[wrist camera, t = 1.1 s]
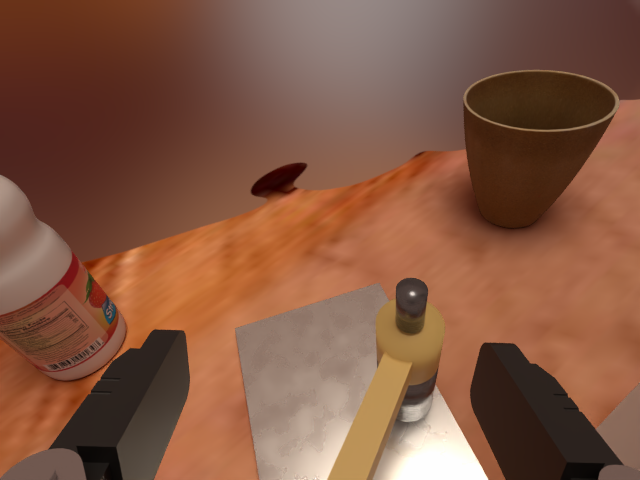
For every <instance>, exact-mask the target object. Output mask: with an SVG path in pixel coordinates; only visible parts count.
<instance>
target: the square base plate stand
mask: <svg viewBox="0 0 640 480" xmlns="http://www.w3.org/2000/svg"><path fill="white" fill-rule="evenodd" d="M427 296H428V288H427V286H426V284H425V283H424V282H422V281H421V280H419V279H416V278H406V279H403V280H401V281H400V282H399V283H398V284H397V286H396V315H395V322H396V325H397V327H398V328H399V329H400V330H401V331H403V332H405V333H410V334H413V333H417V332H419V331H420V330H422V328H423V327H424V323H425V314H426V305H427ZM387 302H389V300H388V298H387V296H386V294H385V292H384V291H383V289H382V287H381V285H380V283H377V284H374V285H370V286H367V287H364V288H361V289H358V290H355V291H351V292H348V293H345V294H342V295H339V296H336V297H333V298H329V299H326V300H323V301H320V302H317V303H314V304H310V305H307V306H304V307H301V308H298V309H295V310H291V311H288V312H285V313H282V314H279V315H276V316H273V317H269V318H266V319H263V320H260V321H257V322H254V323H250V324H247V325H244V326H241V327H238V328H235V331H236V337H237V343H238V350H239V356H240V362H241V368H242V374H243V381H244V387H245V393H246V399H247V405H248V412H249V418H250V424H251V430H252V436H253V443H254V449H255V455H256V461H257V467H258V474H259V480H327V478H328V476H329V474H330V472H331V469H332V467H333V465H334V463H335V461H336V458H337V456H338V454H339V452H340V450H341V447H342V445H343V443H344V441H345V438H346V436H347V434H348V432H349V430H350V427H351V425H352V423H353V421H354V419H355V416H356V414H357V412H358V410H359V408H360V405H361V403H362V401H363V399H364V396H365V394H366V392H367V390H368V388H369V385H370V383H371V381H372V379H373V377H374V374H375V372H376V370H377V368H378V366H379V364H378V361H377V350H376V324H375V323H376V316H377V314H378V312H379V310H380V309H381V308H382V306H383V305H385V304H386V303H387ZM438 367H439V366H438ZM437 372H438V369H437V371H436V373H435V374H434V375H433V377H432V378H430V379H429V380H428V381H426V382H424V383H421V384H418V385H409V386H408V389H407V391H406V394H405V396H404V399H403V402H402V404H401V407H400V409H399V412H398V415H397V417H396V420H395V422H394V425H393V428H392V430H391V433H390V436H389V438H388V441H387V443H386V446H385V449H384V451H383V454H382V456H381V459H380V462H379V464H378V467H377V469H376V472H375V475H374V477H373V480H488V478H487V477H486V475H485V473H484V471H483V469H482V468H481V466H480V464H479V462H478V460H477V458H476V457H475V455H474V453H473V451H472V449H471V448H470V446H469V444H468V442H467V440H466V439H465V437H464V435H463V433H462V431H461V430H460V428H459V426H458V424H457V422H456V421H455V419H454V417H453V415H452V413H451V412H450V410H449V408H448V406H447V404H446V403H445V401H444V399H443V397H442V395H441V394H440V392H439V390H438V388H437V386H436V378H437Z"/></svg>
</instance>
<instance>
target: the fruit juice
mask: <svg viewBox="0 0 640 480" xmlns="http://www.w3.org/2000/svg"><path fill="white" fill-rule="evenodd" d="M125 334H126V324H125V320H124V318H123V316H122V314H121V313H120V311H119V310H118V309H117V308H116V306H115V305H114V304H113V302H112V301H111V300H110V299H109V297H108V296H107V295H106V294H105V292H104V291H103V290H102V289H101V287H100V286H99V285H98V283H97V282H96V281H95V280H94V278H93V277H92V276H91V275H90V273H89V272H88V271H87V270H86V268H85V267H84V266H83V265H82V263H81V262H80V261H79V260H78V258H77V257H76V256H75V255H74V253H73V252H72V250H71V249H70V248H69V246H68V245H67V244H66V243H65V241H64V240H63V239H62V238H61V237H60V236H59V235H58V234H57V233H56V232H55V231H54V230H53V229H52V228H51V227H49V226H48V225H47V224H45V223H43V222H41V221H39V220H38V219H36V217H35V215H34V213H33V210H32V207H31V205H30V203H29V201H28V199H27V197H26V195H25V194H24V193H23V192H22V191H21V190H20V188H19V187H18V186H17V185H16V184H14V183H13V182H12V181H11V180H9V179H7V178H6V177H4V176H1V175H0V339H2V340H3V341H4V342H5V343H7V344H8V345H9V346H10V347H12V348H13V349H14V350H15V351H16V352H18V353H19V354H20V355H21V356H23V357H24V358H25V359H26V360H28V361H29V362H30V363H31V364H33V365H34V366H35V367H36V368H38V369H39V370H40V371H41V372H43V373H44V374H45V375H47V376H49V377H51V378H54V379H57V380H75V379H79V378H82V377H85V376H87V375H89V374H91V373H93V372H95V371H96V370H98V369H100V368H101V367H102V366H104V365H105V364H106V363H107V362H108V361H109V360H110V359H111V358H112V357H113V356H114V355H115V354H116V353H117V351H118V350H119V348H120V347H121V345H122V343H123V341H124V338H125Z"/></svg>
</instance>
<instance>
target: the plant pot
mask: <svg viewBox="0 0 640 480" xmlns="http://www.w3.org/2000/svg"><path fill="white" fill-rule="evenodd" d="M463 101H464V129H465V142H466V152H467V159H468V166H469V172H470V177H471V181H472V186H473V190H474V193H475V197H476V200H477V204H478V207H479V210H480V212H481V214H482V216H483V217H484V218H485V219H487V220H488V221H489V222H491V223H493V224H496V225H498V226H502V227H507V228H520V227H525V226H528V225H531V224H532V223H534V222H535V221H536V220H537V219H538V218H539V217H540V216H541V215H542V214H543V213H544V212H545V211H546V210H547V209H548V208H549V207H550V206H551V205H552V204H553V203H554V202H555V201H556V199H557V198H558V197H559V196H560V195H561V194H562V192H563V191H564V190H565V189H566V187H567V186H568V185H569V184H570V182H571V181H572V180H573V178H574V177H575V176H576V174H577V173H578V172H579V170H580V169H581V167H582V166H583V165H584V163H585V162H586V160H587V159H588V157H589V156H590V154H591V153H592V151H593V150H594V149H595V147H596V145H597V144H598V142H599V141H600V139H601V137H602V136H603V134H604V132H605V131H606V129H607V127H608V126H609V124H610V122H611V120H612V118H613V117H614V115H615V113H616V111H617V110H618V108H619V102H620V101H619V98H618V96H617V94H616V93H615V92H614V91H613V90H612V89H611V88H610V87H608V86H607V85H605V84H603V83H601V82H599V81H597V80H594V79H592V78H589V77H585V76H582V75H578V74H573V73H567V72H560V71H550V70H523V71H513V72H506V73H501V74H497V75H493V76H490V77H487V78H484V79H482V80H479V81H478V82H476V83H474V84H473V85H471V86H470V87H469V88H468V89H467V90H466V92H465V94H464V98H463Z"/></svg>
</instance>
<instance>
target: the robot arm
mask: <svg viewBox="0 0 640 480" xmlns="http://www.w3.org/2000/svg"><path fill="white" fill-rule="evenodd" d="M189 384H190V374H189V364H188V353H187V343H186V335H185V332H184V331H182V330H153V331H152V332H151V333H150V335H149V336H148V338H147V339H146V341H145V342H144V344H143V345H142V347H141V348H140V349H134V348H130V349H129V350H127V351H126V352H125V353H123V354H122V355H121V356H119V357H118V358H117V359H115V360H114V361H112V363H111V364H110V366H109V367H108V368H107V370H106V371H105V372H104V374H103V375H102V377H101V380H100V381H98V382H97V383H96V385H95V386H94V388H93V389H92V390H91V394H88V396H87V397H86V398H85V400H84V401H83V403H82V404H81V405H80V407H79V408H78V409H77V411H76V412H75V414H74V415H73V416H72V418H71V419H70V420H69V422H68V423H67V425H66V426H65V427H64V429H63V430H62V431H61V433H60V434H59V436H58V437H57V438H56V440H55V441H54V442H53V444H52V445H51V447H50V448H49V449H48V450H45V451H42V452H39V453H36V454H34V455H32V456H29V457H27V458H25V459H24V460H22V461H20V462H19V463H17V464H16V465H15V466H13V467H12V468H11V469H9V470H8V471H7V472H6V473H5V474H4V475H3V476H2V477H1V478H0V480H154V478H155V475H156V473H157V470H158V468H159V465H160V463H161V461H162V458H163V456H164V453H165V451H166V448H167V446H168V444H169V441H170V439H171V436H172V434H173V431H174V429H175V426H176V424H177V422H178V419H179V417H180V414H181V412H182V409H183V407H184V404H185V402H186V399H187V396H188V391H189ZM470 398H471V404H472V408H473V411H474V413H475V415H476V417H477V420H478V422H479V424H480V426H481V428H482V430H483V432H484V434H485V437H486V439H487V441H488V443H489V445H490V447H491V449H492V451H493V454H494V456H495V458H496V460H497V462H498V464H499V466H500V468H501V470H502V473H503V475H504V477H505V479H506V480H640V471H639V470H637V469H635V468H631V467H628V466H624V464H623V463H622V462H621V461H620V459H619V458H618V457H617V456H616V454H615V453H614V452H613V451H612V449H611V448H610V447H609V446H608V444H607V443H606V442H605V441H604V439H603V438H602V437H601V436H600V434H599V433H598V432H597V431H596V429H595V428H594V427H593V426H592V424H591V423H590V422H589V421H588V419H587V418H586V417H585V416H584V414H583V413H582V412H579V408H578V407H577V405H576V404H575V403H574V402H573V400H572V399H571V398H568V394H567V393H566V392H565V390H564V389H563V388H562V387H561V385H560V384H559V383H558V382H557V380H556V379H555V378H554V377H553V376H551V375H550V374H549V373H547V372H546V371H545V370H543V369H542V368H541V367H539V366H538V365H537V364H530V363H529V361H528V360H527V359H526V357H525V356H524V355H523V353H522V352H521V351H520V349H519V348H518V347H517V346H516V345H515V344H511V343H484V344H483V345H482V346H481V348H480V352H479V356H478V360H477V364H476V368H475V372H474V376H473V380H472V384H471V389H470Z"/></svg>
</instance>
